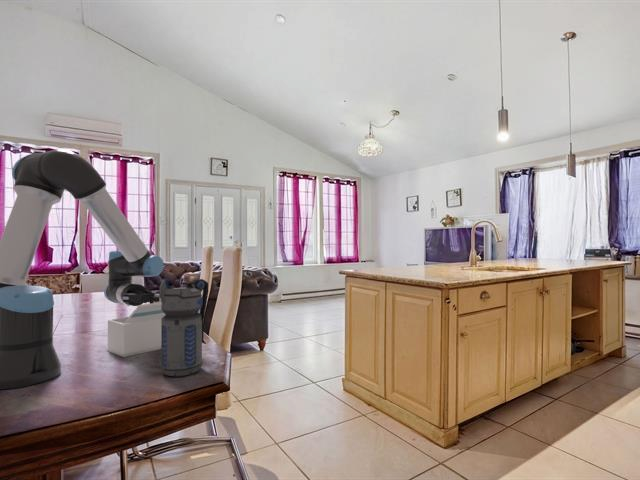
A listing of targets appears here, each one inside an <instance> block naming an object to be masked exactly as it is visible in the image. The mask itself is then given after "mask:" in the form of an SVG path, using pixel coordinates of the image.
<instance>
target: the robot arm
mask: <svg viewBox="0 0 640 480" xmlns="http://www.w3.org/2000/svg"><path fill="white" fill-rule="evenodd" d="M11 170H12V172H11V174H12V175H11V176H12V179H13V180H14V184H13V187H12V189H13V191H14V192H15V194H16V199H15V201H14V203H13V205H12V208H11V211H10V214H9V216H8V219H7V222H6V223H5V227H4V230H3V232H2V234H1V237H0V390H10V389H16V388H23V387H28V386H29V387H30V386H33V385H36V384H40V383H43V382H47V381H49V380H51V379H53V378H56V377H58V376H59V375H60V374H61V373H62V369H61V368H62V365H61V364H62V363H61V360H60V359H59V356H58V353H57V351H56V348H55V346H54V306H55V300H54V294H53V291H52V290H51V289H50V288H48V287H45V286H40V285H29V284H28V283H27V278H28V275H29V273H30V271H31V270H30V269H31V266H32V263H33V261H34V258H35V256H36V252H37V249H38V247H39V244H40V241H41V239H42V236H43V234H44V233H43V232H44V231H45V227H46V224H47V221H48V218H49V216H50V212H51V210H52V207H53V206H54V205H56V204H59V203H61V201H62V198H63V195H64V192H65V191H66V192H69V194H71V196H72V197H73V198H74V199H75V200H77V201H81V202H82V204H83V205H84V206H85V208H86V209H87V210H88V212H89V213H90V214H91V216H92V217H93V218H94V220H95V221H96V222H97V223H98V225H99V226H100V227H101V228H102V230H103V231H104V233H105V234H106V235H107V237H108V238H109V239H110V240H111V242H112V243H113V244H114V246H115V247H116V248H117V249H118V250H111V251H109V253H108V261H107V263H108V284H106V287H105V288H104V291H103V294H104V297H105V298H106V300H107V301H109V302H112V303H115V304H121V305H126V306H127V307H130V306H132V307H138V306H139V305H143V304H148V303H149V304H151V303H159V302H161V298H160V297H159V290H155V291H152V290H149V289H147V288H146V286H144V285H142V284H137V283H132V282H133V281H132V280H133V277H146V278H151V277H157V276H159V275H160V274H162V272H163V270H164V260H163V258H162V257H160V256H158V255H156V254H151V252H150V251H149V250H148V247H147V246H146V245H145V243H144V242H143V240H142V239H141V238H140V236H139V235H138V233H137V232H136V231H135V229H134V228H133V226H132V225H131V223H130V222H129V221H128V219H127V217H126V216H125V215H124V213H123V212H122V210H121V209H120V207H119V206H118V205H117V203H116V201H114V199H113V197H112V196H111V195H110V193H109V191H108V190H107V189H106V187H107V183H106V182H105V180H104V179H103V177H102V176H101V174H100V173H99V171H97V169H96V168H95V167H94V166H93V165H92V164H91V163H90V162H89V161H87V159H85V158H84V157H82V156H81V155H79V154H77V153H76V152H73V151H71V150H68V149H67V150H66V149H53V150H49V151H44V152H37V153H36V152H33V153H30V154H27V155H24V156H22V157H21V158H19V159H18V160H17V161H16V162H15V163H14V165H13V167H12V169H11Z"/></svg>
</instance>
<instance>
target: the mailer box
mask: <svg viewBox="0 0 640 480" xmlns="http://www.w3.org/2000/svg"><path fill="white" fill-rule="evenodd" d="M128 317H129V316H125V317H121V318H112V319H108V320H107V352H109V353H112V354H115V355H116V356H119V357H122V358H126V357H127V358H128V357H132V356H136V355H141V354H145V353H149V352H153V351H157V350H161V318H158V319H152V320H146V321H140V322H133V323H127V324H125V321H126V320H127V318H128Z"/></svg>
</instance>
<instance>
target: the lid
mask: <svg viewBox="0 0 640 480" xmlns="http://www.w3.org/2000/svg"><path fill="white" fill-rule="evenodd" d="M163 316H165V313H164V312H163V311H162V309H161V302H159V303H151V304H150V303H143V304H141V305H139V306H136V308H135V309H134V310H133V311H132V313H131V314H130V315H129V316H127V317H128V318H127V320H126V321H125V324H127V323H133V322H140V321H146V320H152V319H158V318H162V317H163Z"/></svg>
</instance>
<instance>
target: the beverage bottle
mask: <svg viewBox="0 0 640 480" xmlns="http://www.w3.org/2000/svg"><path fill="white" fill-rule="evenodd" d="M168 281H169V279H168V278H164V279H162V281H161V283H160V285H159V287H158V289H159V297H160V298H161V309H162V311H163V312H164V313H165V316H163V317H162V318H161V349H160V350H161V351H160V352H161V355H160V356H161V357H160V358H161V359H160V360H161V361H160V362H161V372H162V373H163V374H164V375H165V376H168V377H169V376H170V377H184V376H190V375H192V374H195V373H197V372H198V371H200V369H201V368H202V366H203V344H204V345H207V343H206V341H205V340H204V335H205V334H204V328H205V327H204V326H205V324H204V323H205V315H206V309H207V303H208V298H209V295H208V294H209V282H208V281H206V280H205V279H204V278H199V279H198V278H197V279H192V281H184V282H183V281H182V282H181V283H180V284H181V285H186V286H187V287H185V286H184V287H176V286H175V285H171V286H170V285H169V282H168Z"/></svg>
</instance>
